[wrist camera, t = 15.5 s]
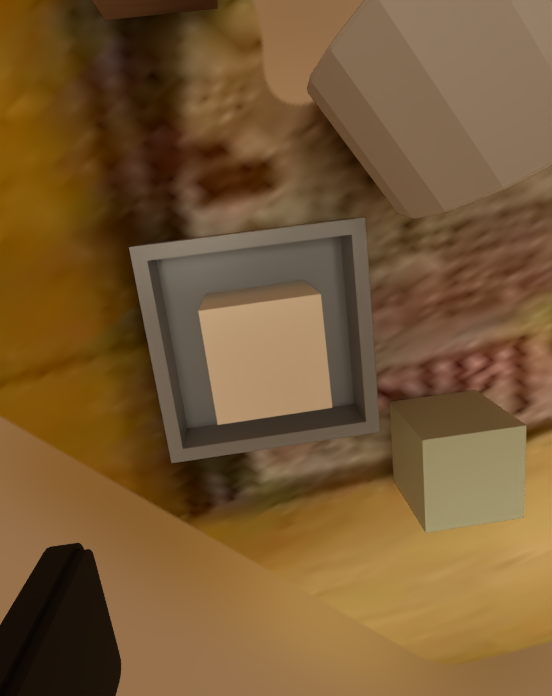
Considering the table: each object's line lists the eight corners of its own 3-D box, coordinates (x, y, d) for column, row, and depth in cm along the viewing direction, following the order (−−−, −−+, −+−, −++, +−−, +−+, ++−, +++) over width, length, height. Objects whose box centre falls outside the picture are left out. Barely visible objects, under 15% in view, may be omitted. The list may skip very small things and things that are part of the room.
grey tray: (350, 218, 29) (365, 217, 26) (364, 410, 32) (380, 432, 29) (141, 244, 28) (129, 247, 25) (178, 437, 32) (171, 463, 28)
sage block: (474, 389, 33) (526, 425, 27) (475, 468, 34) (523, 517, 28) (389, 401, 32) (422, 440, 27) (393, 479, 34) (425, 532, 28)
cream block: (303, 279, 29) (320, 294, 23) (314, 372, 31) (332, 407, 25) (205, 293, 29) (198, 311, 23) (220, 386, 30) (217, 425, 25)
